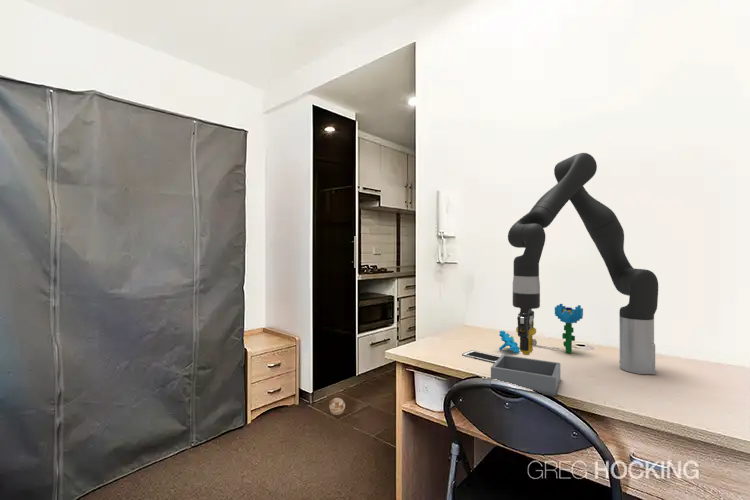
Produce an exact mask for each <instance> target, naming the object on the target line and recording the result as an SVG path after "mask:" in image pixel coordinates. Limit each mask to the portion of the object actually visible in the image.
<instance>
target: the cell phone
mask: <svg viewBox="0 0 750 500" xmlns="http://www.w3.org/2000/svg"><path fill="white" fill-rule="evenodd" d="M461 355H462V356H463V357H465V358H466V357H467V358H470V359H475V360H479V361H482V362H487V363H491V364H494V363H495V362H496V361H497V360H498V359H499V358H500V356H501V355H496V354H491V353H487V352H483V351H477V350H472V349H471V350H469V351H466V352H463V353H462V354H461Z"/></svg>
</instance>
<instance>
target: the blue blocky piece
mask: <svg viewBox="0 0 750 500" xmlns="http://www.w3.org/2000/svg"><path fill="white" fill-rule="evenodd" d="M498 335H499V336H500V339H501V342H502V341H503V342H504V343H503V344H502V345H501V346H500V347H499V350H500V351H502V350H503V349H505V347H509V350H510V351H511V352H514V354H519V353H520V352H521V351H520V349H519V347H520V346H519V344H518V342H516V341H515V338H514V336H513V335H511V336H510V334H509V332H506V331H505V330H500V331H499V334H498Z"/></svg>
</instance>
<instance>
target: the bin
mask: <svg viewBox="0 0 750 500" xmlns="http://www.w3.org/2000/svg"><path fill="white" fill-rule="evenodd" d="M499 356H500V358H499V359H498V360H497V361H496V362H495V363H492V364H493V365H492V366H490V380H491V379H497V380H500V381H504V382H509V383H512V384H516V385H518V386H522V387H526V388H530V389H533V390H535V391H537V392H539V393H542V394H541V395H544V396H550V397H555V398H556V397H557V394H558V390H559V386H560V382H561V362H557V361H556V362H555V361H548V360H544V359H543V360H542V359H536V358H530V357H529V358H528V357H523V356H515V355H508V354H507V355H506V354H501V355H499Z"/></svg>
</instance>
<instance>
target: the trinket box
mask: <svg viewBox="0 0 750 500" xmlns="http://www.w3.org/2000/svg"><path fill="white" fill-rule="evenodd" d="M328 407H329V410H330V413H331V414H332V415H336V416H337V415H341V414H342V413H344V411H345V409H346V403H345V401H344V400H343V399H342V398H340V397H335V398H333V399H332V400H330V401H329V405H328Z"/></svg>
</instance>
